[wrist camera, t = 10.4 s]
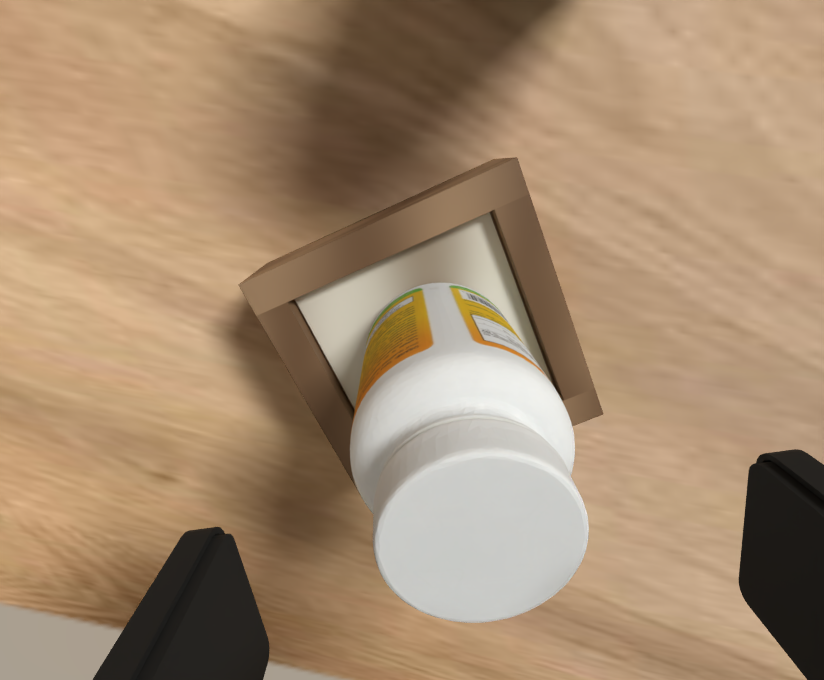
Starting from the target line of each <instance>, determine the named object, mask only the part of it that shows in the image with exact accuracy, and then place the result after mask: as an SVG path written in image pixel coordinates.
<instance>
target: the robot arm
mask: <svg viewBox="0 0 824 680" xmlns="http://www.w3.org/2000/svg"><path fill="white" fill-rule="evenodd" d="M739 586H740V590H741V593H742V595H743V597H744V599H745V601H746V602H747V604H748V605H749V607H750V608H751V609H752V610H753V612H754V613H755V614H756V615H757V617H758V618H759V619H760V620H761V622H762V623H763V624H764V625H765V627H766V628H767V629H768V631H769V632H770V633H771V634H772V636H773V637H774V638H775V639H776V641H777V642H778V643H779V644H780V646H781V647H782V648H783V649H784V651H785V652H786V653H787V654H788V656H789V657H790V658H791V660H792V661H793V662H794V663H795V665H796V666H797V667H798V668H799V670H800V671H801V672H802V673H803V675H804V676H805V677H806V678H807V680H824V465H823V464H822V463H820V462H819V461H817V460H816V459H815V458H813V457H812V456H810V455H809V454H807V453H806V452H804V451H802V450H796V449H795V450H787V451H780V452H773V453H765V454H762V455H760V456H759V457H758V459H757V462H756V464H753V465H751V467H750V469H749V475H748V485H747V496H746V507H745V518H744V528H743V539H742V550H741V561H740V571H739ZM268 659H269V641H268V637H267V634H266V631H265V628H264V625H263V622H262V619H261V616H260V613H259V610H258V607H257V604H256V602H255V599H254V596H253V593H252V590H251V587H250V584H249V581H248V578H247V575H246V572H245V569H244V566H243V563H242V561H241V558H240V555H239V552H238V549H237V546H236V543H235V540H234V538H233V536H232V535H231V534H225V533H224V531H223V530H222V529H221V528H220V527H213V528H206V529H198V530H191V531H187V532H185V533H184V534H183V536H182V537H181V538H180V540H179V542H178V543H177V545H176V546H175V548H174V550H173V551H172V553H171V554H170V556H169V558H168V559H167V561H166V563H165V564H164V566H163V567H162V569H161V571H160V572H159V574H158V575H157V577H156V579H155V580H154V582H153V583H152V585H151V587H150V588H149V590H148V591H147V593H146V595H145V596H144V598H143V599H142V601H141V603H140V604H139V606H138V607H137V609H136V611H135V612H134V614H133V616H132V617H131V619H130V620H129V622H128V624H127V625H126V627H125V628H124V630H123V632H122V633H121V635H120V636H119V638H118V640H117V641H116V643H115V644H114V646H113V648H112V649H111V651H110V653H109V654H108V656H107V657H106V659H105V661H104V662H103V664H102V665H101V667H100V669H99V670H98V672H97V673H96V675H95V677H94V678H93V680H263V677H264V674H265V670H266V667H267V663H268Z"/></svg>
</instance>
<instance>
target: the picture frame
mask: <svg viewBox="0 0 824 680" xmlns="http://www.w3.org/2000/svg"><path fill="white" fill-rule="evenodd" d="M429 283H453V284H458V285H462V286H465V287H468V288H471V289H473V290H475V291H477V292H479V293H480V294H482V295H483V296H485V297H486V298H488V299H489V300H490V301H491V302H492V303H493V304H494V305H495V306H496V307H497V308H498V309H499V310H500V312H501V313H502V314H503V315H504V317H505V318H506V319H507V321H508V322H509V324H510V325H511V326H512V328H513V329H514V331H515V332H516V334H517V335H518V336H519V338H520V339H521V341H522V342H523V343H524V345H525V346H526V348H527V349H528V351H529V352H530V353H531V355H532V356H533V358H534V359H535V360H536V362H537V363H538V365H539V366H540V368H541V369H542V370H543V372H544V373H545V374H546V376H547V377H548V379H549V380H550V382H551V383H552V384H553V386H554V387H555V389H556V391H557V393H558V394H559V396H560V398H561V400H562V402H563V404H564V406H565V408H566V410H567V412H568V415H569V417H570V420H571V424H572V426H574V425H577V424H579V423H582V422H585V421H587V420H590V419H592V418H595V417H598V416H600V415H603V411H602V408H601V405H600V403H599V400H598V397H597V394H596V391H595V388H594V385H593V382H592V379H591V376H590V373H589V370H588V367H587V364H586V361H585V358H584V355H583V352H582V349H581V346H580V343H579V340H578V337H577V334H576V331H575V328H574V325H573V322H572V319H571V316H570V313H569V310H568V307H567V304H566V301H565V298H564V295H563V293H562V290H561V287H560V284H559V281H558V278H557V275H556V272H555V269H554V266H553V263H552V260H551V257H550V254H549V251H548V248H547V245H546V242H545V239H544V236H543V233H542V230H541V227H540V224H539V221H538V218H537V215H536V212H535V209H534V206H533V203H532V200H531V197H530V194H529V191H528V188H527V186H526V183H525V180H524V177H523V174H522V171H521V168H520V165H519V162H518V159H517V158H503V159H493V160H491V161H489V162H487V163H485V164H482V165H480V166H478V167H476V168H474V169H471V170H469V171H467V172H465V173H463V174H461V175H458V176H456V177H454V178H452V179H450V180H448V181H445V182H443V183H441V184H439V185H437V186H434V187H432V188H430V189H428V190H426V191H424V192H421V193H419V194H417V195H415V196H413V197H411V198H408V199H406V200H404V201H402V202H400V203H397V204H395V205H393V206H391V207H389V208H387V209H384V210H382V211H380V212H378V213H376V214H373V215H371V216H369V217H367V218H365V219H363V220H360V221H358V222H356V223H354V224H352V225H350V226H347V227H345V228H343V229H341V230H339V231H336V232H334V233H332V234H330V235H328V236H326V237H323V238H321V239H319V240H317V241H315V242H313V243H310V244H308V245H306V246H304V247H302V248H299V249H297V250H295V251H293V252H291V253H289V254H286V255H284V256H282V257H280V258H278V259H275V260H273V261H271V262H269V263H267V264H266V265H264V266H263V267H262V268H260V269H259V270H258V271H256V272H255V273H254V274H252V275H251V276H250V277H248V278H247V279H245V280H244V281H243V282H241V283H240V284H239V287H240V289H241V290H242V292H243V294H244V295H245V297H246V299H247V301H248V302H249V304H250V306H251V307H252V309H253V311H254V313H255V314H256V316H257V318H258V320H259V321H260V323H261V325H262V326H263V328H264V330H265V332H266V333H267V335H268V337H269V338H270V340H271V342H272V344H273V345H274V347H275V349H276V350H277V352H278V354H279V356H280V357H281V359H282V361H283V363H284V364H285V366H286V368H287V369H288V371H289V373H290V375H291V376H292V378H293V380H294V381H295V383H296V385H297V387H298V388H299V390H300V392H301V394H302V395H303V397H304V399H305V400H306V402H307V404H308V406H309V407H310V409H311V411H312V412H313V414H314V416H315V418H316V419H317V421H318V423H319V424H320V426H321V428H322V430H323V431H324V433H325V435H326V437H327V438H328V440H329V442H330V443H331V445H332V447H333V449H334V450H335V452H336V454H337V455H338V457H339V459H340V461H341V462H342V464H343V466H344V467H345V469H346V471H347V473H348V474H349V476H350V478H351V480H352V481H353V483H354V485H355V486H356V484H355V481H354V478H353V474H352V469H351V462H350V439H351V430H352V423H353V418H354V412H355V406H356V400H357V394H358V389H359V383H360V377H361V371H362V366H363V360H364V353H365V347H366V343H367V339H368V335H369V332H370V329H371V327H372V325H373V323H374V321H375V319H376V318H377V316H378V315H379V313H380V312H381V311H382V310H383V308H384V307H385V306H386V305H387V304H388V303H389V302H391V301H392V300H393V299H394V298H396V297H397V296H399V295H400V294H402V293H404V292H405V291H407V290H410V289H412V288H414V287H417V286H420V285H424V284H429ZM356 488H357V487H356ZM357 490H358V489H357ZM358 492H359V491H358ZM365 504H366V503H365Z"/></svg>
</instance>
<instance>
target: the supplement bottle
mask: <svg viewBox="0 0 824 680" xmlns="http://www.w3.org/2000/svg"><path fill="white" fill-rule="evenodd" d="M574 456H575V442H574V432H573V428H572V424H571V420H570V417H569V415H568V412H567V410H566V408H565V406H564V404H563V402H562V400H561V398H560V396H559V394H558V393H557V391H556V389H555V387H554V386H553V384H552V383H551V382H550V380H549V379H548V377H547V376H546V374H545V373H544V372H543V370H542V369H541V368H540V366H539V365H538V363H537V362H536V360H535V359H534V358H533V356H532V355H531V353H530V352H529V351H528V349H527V348H526V346H525V345H524V343H523V342H522V341H521V339H520V338H519V336H518V335H517V334H516V332H515V331H514V329H513V328H512V326H511V325H510V324H509V322H508V321H507V319H506V318H505V317H504V315H503V314H502V313H501V312H500V310H499V309H498V308H497V307H496V306H495V305H494V304H493V303H492V302H491V301H490V300H489V299H488V298H486V297H485V296H483V295H482V294H480V293H479V292H477V291H475V290H473V289H471V288H468V287H465V286H462V285H458V284H453V283H429V284H424V285H420V286H417V287H414V288H412V289H410V290H407V291H405V292H404V293H402V294H400V295H399V296H397V297H396V298H394V299H393V300H392V301H391V302H389V303H388V304H387V305H386V306H385V307H384V308H383V310H382V311H381V312H380V313H379V315H378V316H377V318H376V319H375V321H374V323H373V325H372V327H371V329H370V332H369V335H368V339H367V343H366V347H365V353H364V360H363V366H362V371H361V377H360V383H359V389H358V394H357V400H356V406H355V412H354V418H353V423H352V430H351V439H350V462H351V469H352V474H353V478H354V481H355V484H356V487H357V489H358V491H359V493H360V495H361V497H362V499H363V500H364V502H365V503H366V505H367V506H368V508H369V509H370V511H371V512H372V513H373V548H374V555H375V559H376V562H377V565H378V568H379V570H380V573H381V575H382V577H383V578H384V580H385V581H386V583H387V584H388V586H389V587H390V588H391V589H392V590H393V591H394V592H395V594H396V595H397V596H398V597H400V598H401V599H402V600H403V601H405V602H406V603H407V604H409V605H410V606H412V607H414V608H415V609H417V610H419V611H421V612H423V613H426V614H428V615H431V616H434V617H437V618H441V619H445V620H450V621H456V622H466V623H483V622H490V621H496V620H501V619H506V618H510V617H513V616H516V615H519V614H522V613H524V612H527V611H529V610H531V609H533V608H535V607H537V606H538V605H540V604H542V603H543V602H545V601H546V600H548V599H549V598H551V597H552V596H554V595H555V594H556V593H557V592H558V591H559V590H561V589H562V588H563V587H564V586H565V585H566V584H567V582H568V581H569V580H570V579H571V577H572V576H573V575H574V573H575V572H576V570H577V569H578V567H579V565H580V563H581V562H582V560H583V557H584V554H585V551H586V546H587V541H588V531H589V527H588V516H587V512H586V509H585V506H584V503H583V500H582V498H581V496H580V494H579V492H578V490H577V488H576V486H575V484H574V482H573V480H572V478H571V473H572V469H573V464H574Z"/></svg>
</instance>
